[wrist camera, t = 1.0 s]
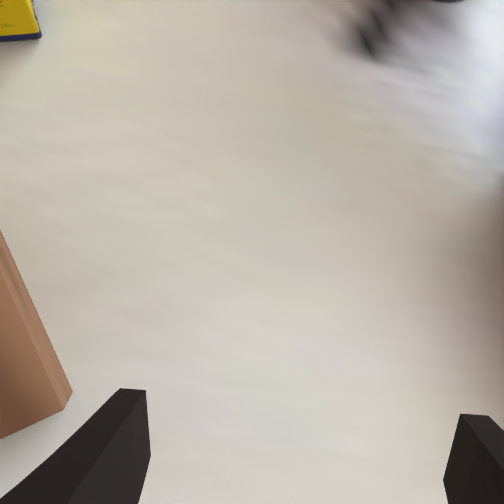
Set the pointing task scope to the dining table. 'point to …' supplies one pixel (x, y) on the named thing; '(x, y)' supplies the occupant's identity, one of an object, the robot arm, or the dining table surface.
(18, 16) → the supplement box
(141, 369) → the dining table surface
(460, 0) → the french press
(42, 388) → the slab
